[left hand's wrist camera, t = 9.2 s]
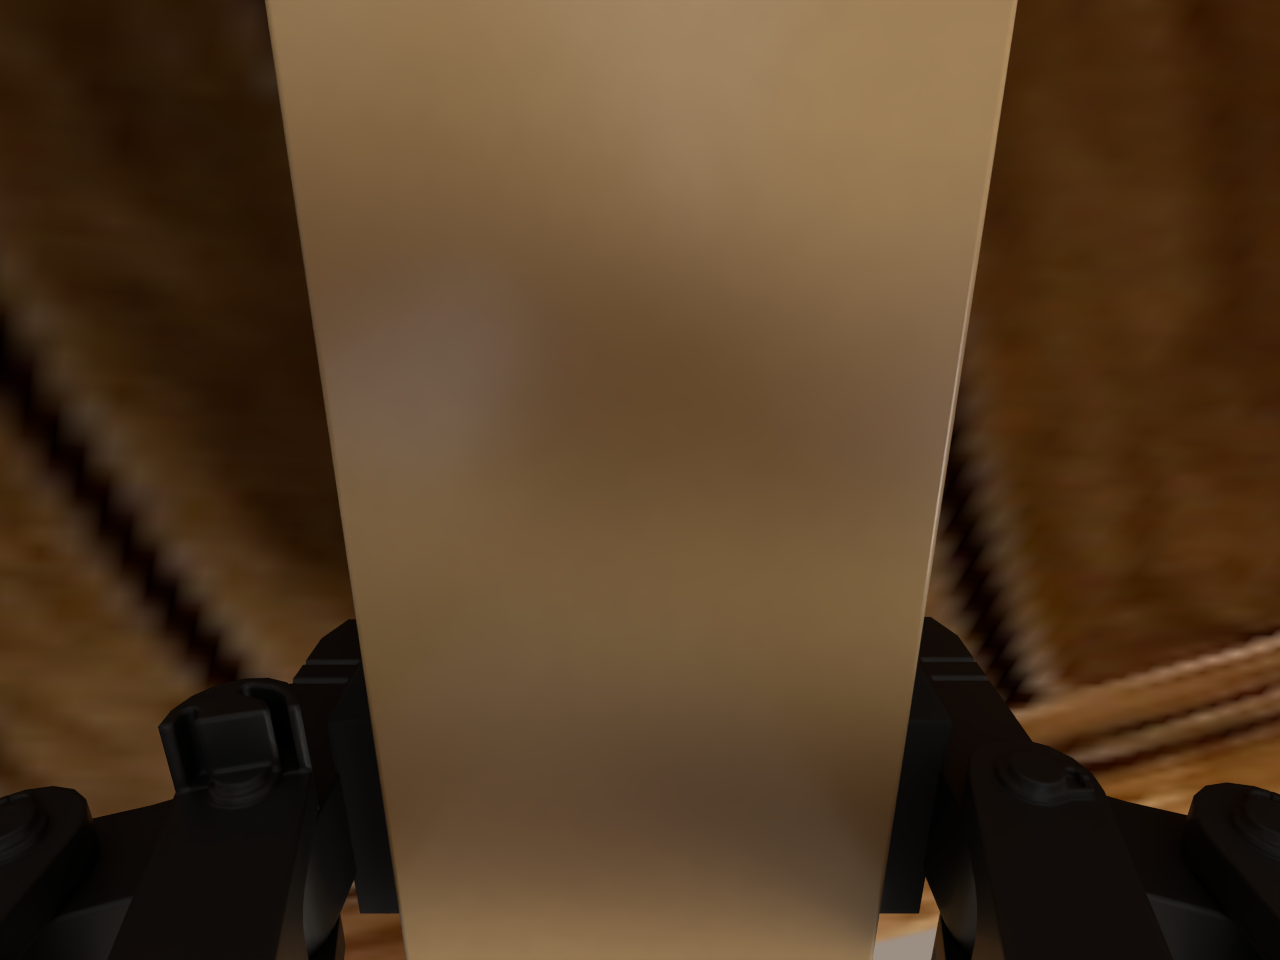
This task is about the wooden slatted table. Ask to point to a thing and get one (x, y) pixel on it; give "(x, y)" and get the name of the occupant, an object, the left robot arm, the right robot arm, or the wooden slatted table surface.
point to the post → (640, 442)
